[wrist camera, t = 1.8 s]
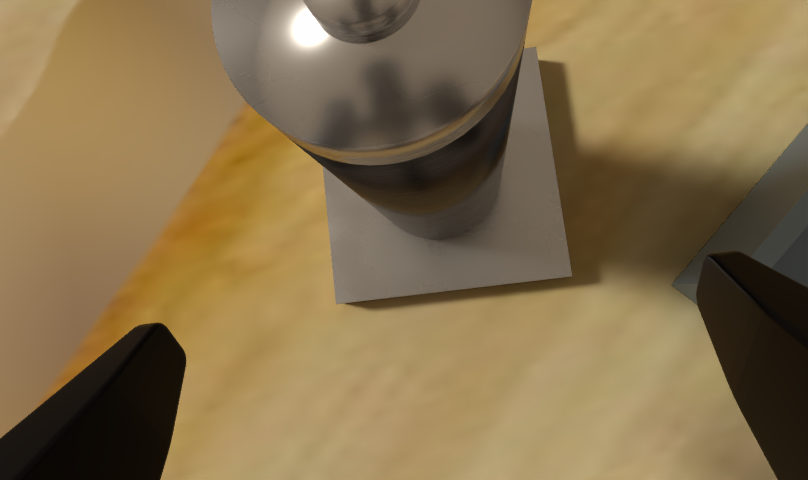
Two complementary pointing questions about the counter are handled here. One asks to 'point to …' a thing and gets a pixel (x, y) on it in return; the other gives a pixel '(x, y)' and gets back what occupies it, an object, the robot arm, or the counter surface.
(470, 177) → the battery
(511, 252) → the plate
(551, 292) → the counter surface
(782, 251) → the bin
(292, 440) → the counter surface
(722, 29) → the counter surface
